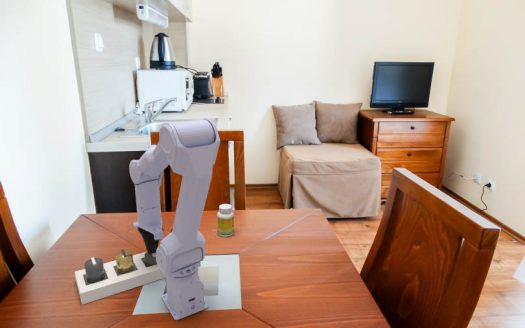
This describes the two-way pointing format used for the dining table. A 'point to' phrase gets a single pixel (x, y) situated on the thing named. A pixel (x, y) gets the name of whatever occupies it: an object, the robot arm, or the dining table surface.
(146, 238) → the robot arm
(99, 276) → the black knob
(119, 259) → the brass knob middle
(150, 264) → the black knob
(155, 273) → the control deck
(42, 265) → the dining table surface
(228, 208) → the supplement bottle
